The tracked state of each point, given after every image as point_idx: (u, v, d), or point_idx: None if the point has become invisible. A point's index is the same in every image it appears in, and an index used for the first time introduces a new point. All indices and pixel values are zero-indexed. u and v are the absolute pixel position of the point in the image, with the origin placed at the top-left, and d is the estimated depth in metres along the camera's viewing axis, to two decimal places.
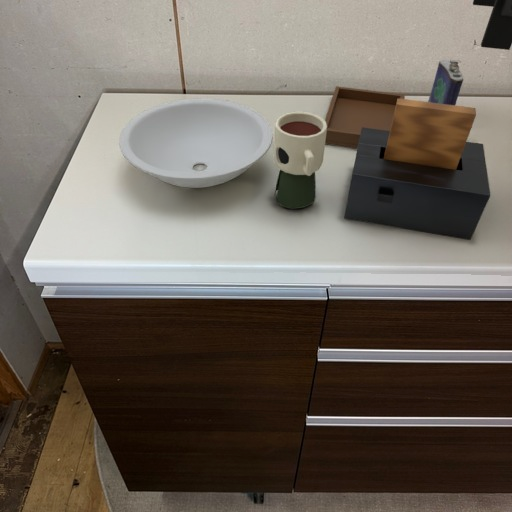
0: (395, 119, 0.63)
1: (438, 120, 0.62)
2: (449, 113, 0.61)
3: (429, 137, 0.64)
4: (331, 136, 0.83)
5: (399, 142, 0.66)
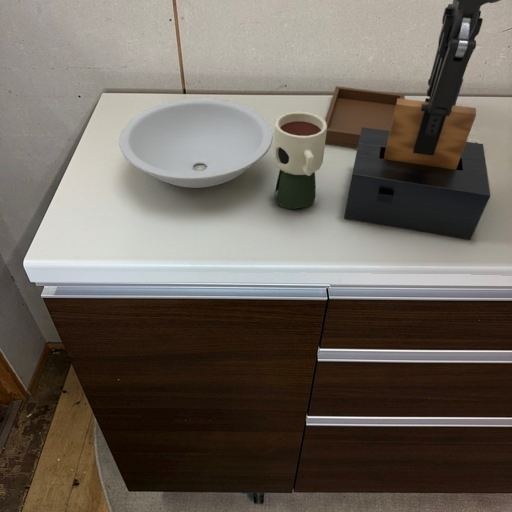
0: (395, 119, 0.63)
1: None
2: None
3: None
4: (331, 136, 0.83)
5: (399, 142, 0.66)
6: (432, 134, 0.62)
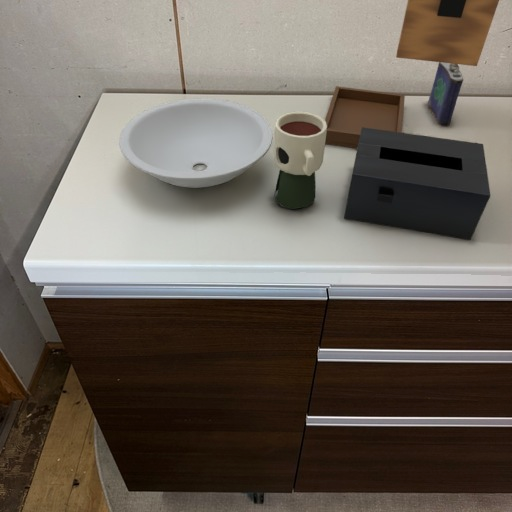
0: None
1: None
2: None
3: None
4: (331, 136, 0.83)
5: (420, 4, 0.56)
6: None
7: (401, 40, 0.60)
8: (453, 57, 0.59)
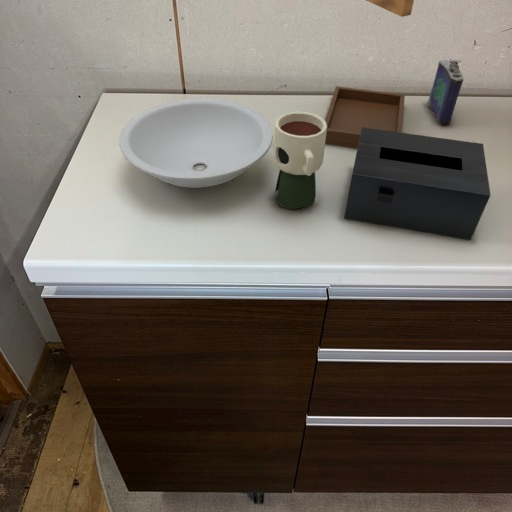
0: None
1: None
2: None
3: None
4: (331, 136, 0.83)
5: None
6: None
7: None
8: (389, 5, 0.73)
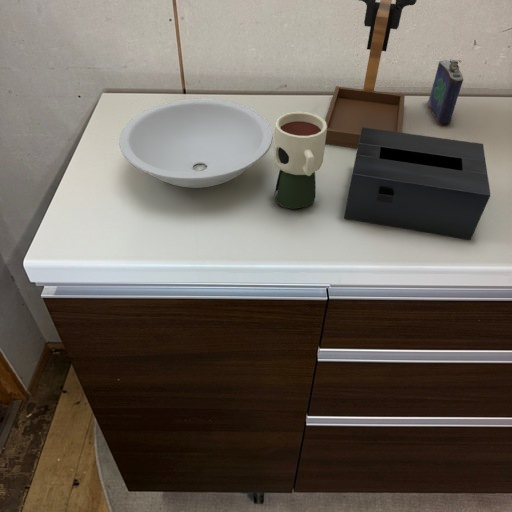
0: None
1: None
2: None
3: None
4: (331, 136, 0.83)
5: None
6: None
7: None
8: None
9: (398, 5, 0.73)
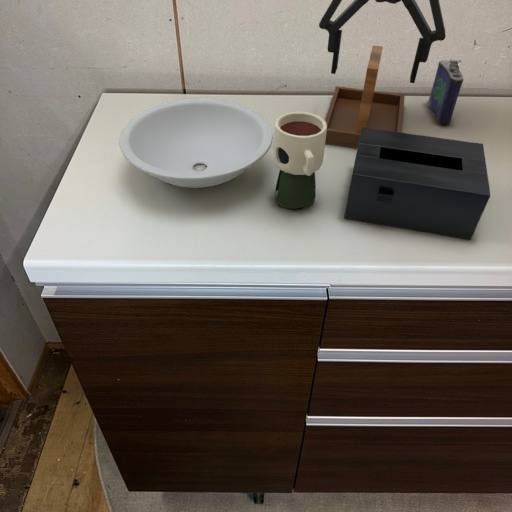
0: None
1: None
2: None
3: None
4: (331, 136, 0.83)
5: None
6: (328, 48, 0.82)
7: None
8: None
9: (428, 41, 0.75)
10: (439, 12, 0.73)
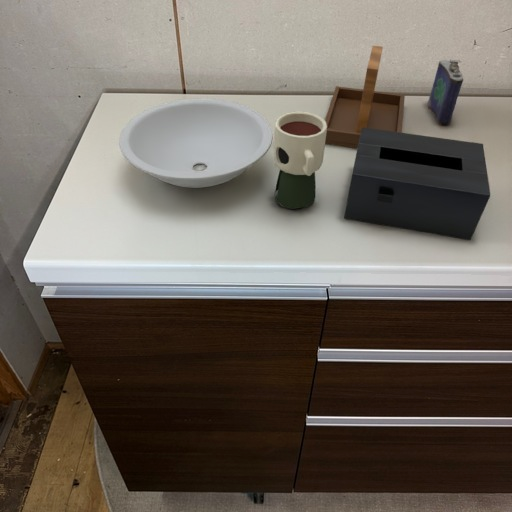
0: None
1: None
2: None
3: None
4: (331, 136, 0.83)
5: None
6: None
7: None
8: None
9: None
10: None
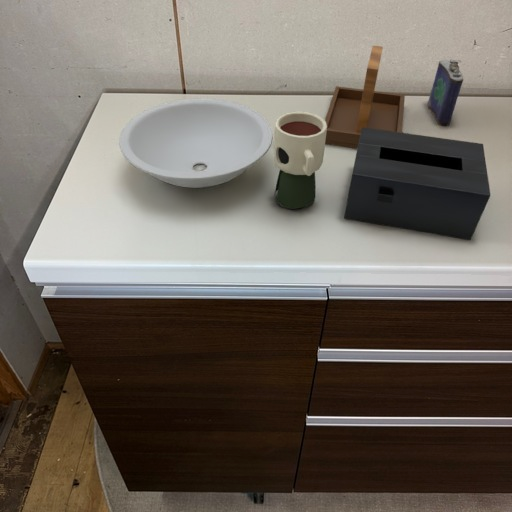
0: None
1: None
2: None
3: None
4: (331, 136, 0.83)
5: None
6: None
7: None
8: None
9: None
10: None
